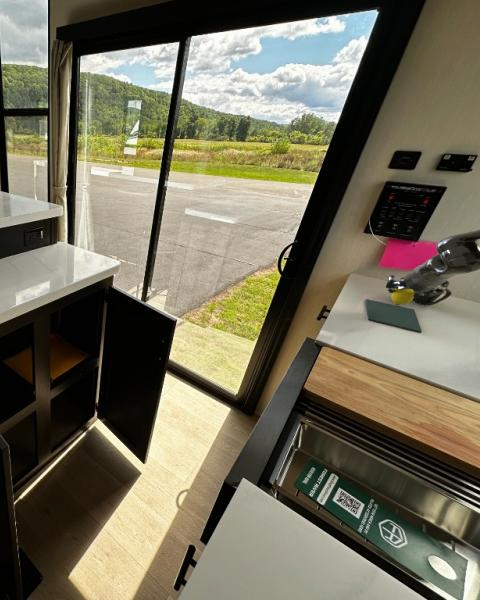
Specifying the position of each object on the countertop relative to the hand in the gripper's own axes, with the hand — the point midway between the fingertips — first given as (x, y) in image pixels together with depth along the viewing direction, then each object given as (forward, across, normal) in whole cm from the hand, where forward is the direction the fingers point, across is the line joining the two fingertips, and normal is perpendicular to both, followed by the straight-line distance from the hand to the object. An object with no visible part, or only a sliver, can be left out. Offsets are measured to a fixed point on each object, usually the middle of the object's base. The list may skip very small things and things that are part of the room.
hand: (402, 292), depth 112 cm
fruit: (+2, 0, -4) cm, 5 cm away
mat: (+5, 0, -7) cm, 9 cm away
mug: (+16, +11, +4) cm, 20 cm away
